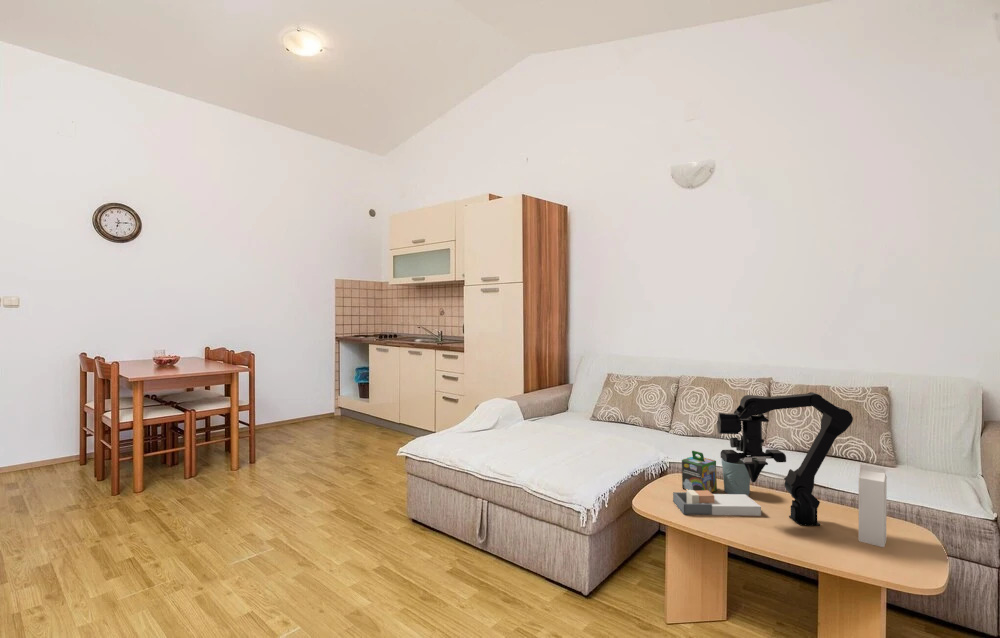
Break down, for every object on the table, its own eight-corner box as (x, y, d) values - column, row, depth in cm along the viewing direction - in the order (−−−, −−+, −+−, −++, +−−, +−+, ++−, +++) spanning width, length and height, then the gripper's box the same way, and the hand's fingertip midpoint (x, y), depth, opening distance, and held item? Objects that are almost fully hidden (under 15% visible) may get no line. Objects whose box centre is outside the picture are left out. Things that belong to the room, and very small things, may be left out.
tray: (699, 502, 172) (699, 492, 172) (711, 515, 161) (711, 504, 161) (673, 502, 173) (673, 492, 173) (683, 514, 162) (683, 504, 162)
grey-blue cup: (741, 499, 175) (741, 466, 175) (715, 490, 184) (715, 459, 184) (756, 493, 181) (756, 461, 181) (731, 485, 189) (731, 454, 189)
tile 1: (693, 489, 169) (686, 489, 169) (699, 495, 164) (692, 495, 164) (693, 504, 169) (686, 504, 169) (699, 509, 164) (692, 510, 164)
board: (745, 502, 172) (745, 494, 172) (761, 515, 161) (761, 506, 161) (699, 502, 172) (699, 493, 172) (712, 515, 161) (712, 506, 161)
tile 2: (708, 497, 169) (707, 490, 169) (714, 502, 164) (714, 495, 164) (693, 497, 169) (693, 490, 169) (699, 503, 164) (699, 495, 164)
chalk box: (717, 491, 183) (717, 452, 183) (702, 496, 178) (702, 456, 178) (695, 484, 191) (695, 446, 191) (681, 488, 186) (681, 450, 186)
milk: (861, 534, 147) (861, 461, 147) (886, 540, 143) (886, 466, 143) (858, 541, 142) (858, 466, 142) (884, 548, 138) (884, 470, 138)
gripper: (769, 428, 167) (770, 473, 167) (713, 429, 168) (714, 474, 168) (786, 436, 156) (787, 485, 156) (726, 437, 157) (727, 485, 157)
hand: (753, 482), depth 159 cm, fingers closed
